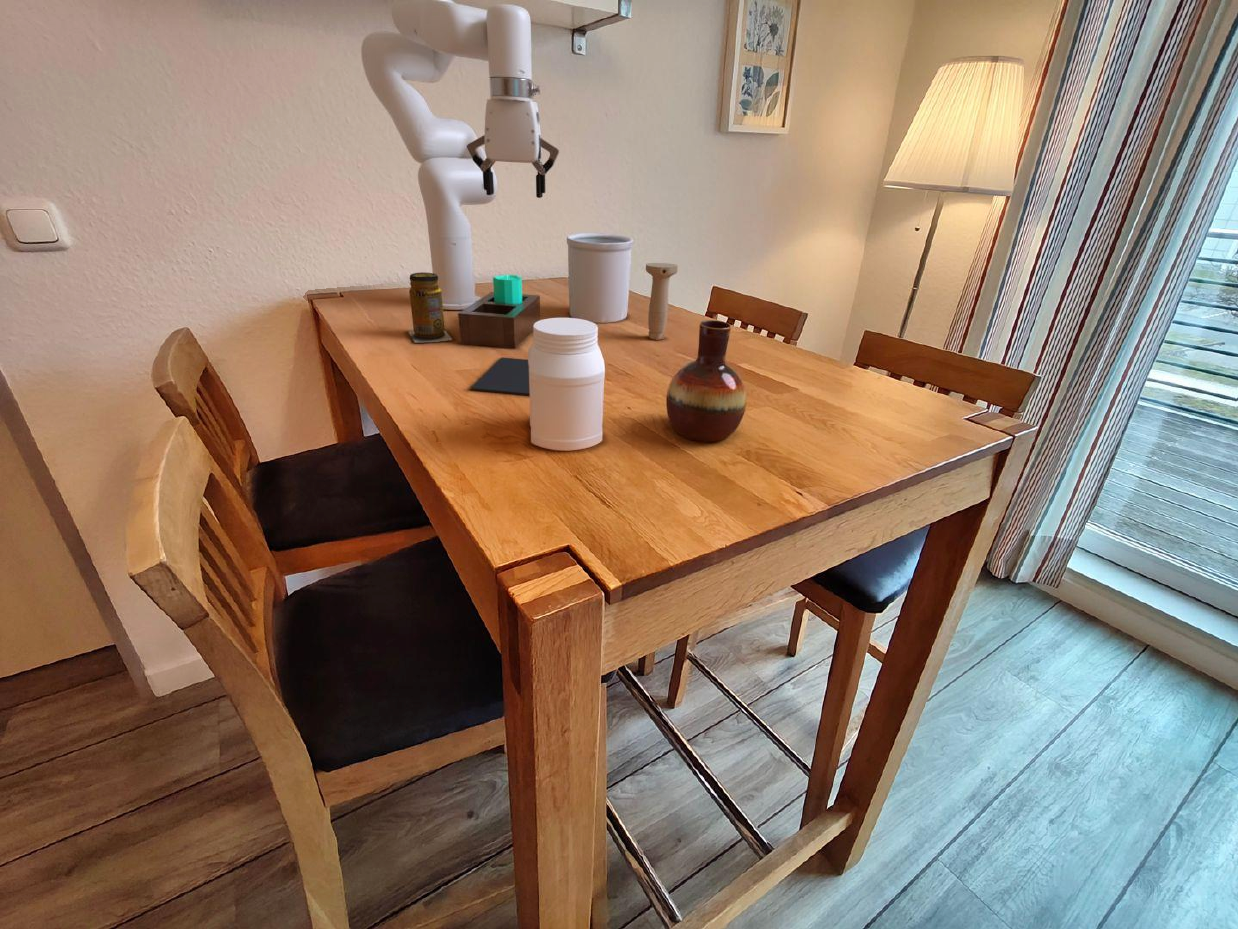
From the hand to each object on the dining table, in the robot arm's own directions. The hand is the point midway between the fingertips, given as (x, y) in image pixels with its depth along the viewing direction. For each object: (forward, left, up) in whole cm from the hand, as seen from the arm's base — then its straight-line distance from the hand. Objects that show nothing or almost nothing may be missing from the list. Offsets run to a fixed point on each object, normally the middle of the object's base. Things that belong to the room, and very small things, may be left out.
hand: (514, 195), depth 114 cm
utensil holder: (+15, +16, -26) cm, 34 cm away
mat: (+12, -29, -26) cm, 40 cm away
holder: (-2, -4, -26) cm, 26 cm away
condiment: (-15, -11, -26) cm, 32 cm away
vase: (+40, -44, -26) cm, 64 cm away
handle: (+30, +1, -26) cm, 40 cm away
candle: (-2, +1, -26) cm, 26 cm away
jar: (+21, -49, -26) cm, 59 cm away
